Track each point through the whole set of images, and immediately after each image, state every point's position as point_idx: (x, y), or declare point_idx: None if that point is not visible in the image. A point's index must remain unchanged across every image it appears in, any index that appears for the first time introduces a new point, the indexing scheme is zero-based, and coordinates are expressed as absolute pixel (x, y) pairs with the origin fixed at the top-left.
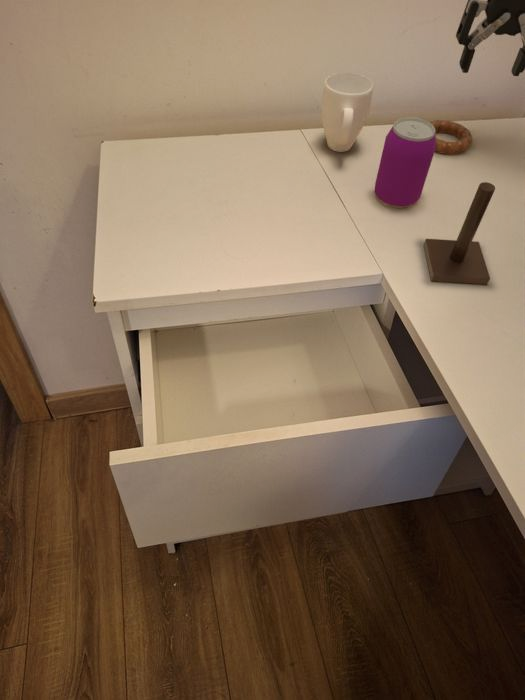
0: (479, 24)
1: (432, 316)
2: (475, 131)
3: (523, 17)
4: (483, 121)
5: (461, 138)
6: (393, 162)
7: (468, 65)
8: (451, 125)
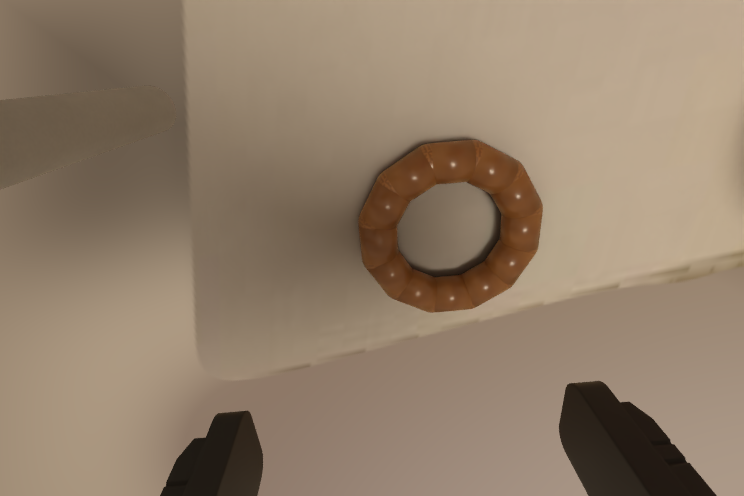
0: None
1: None
2: (333, 303)
3: None
4: (305, 359)
5: (396, 229)
6: None
7: (614, 418)
8: (428, 287)
